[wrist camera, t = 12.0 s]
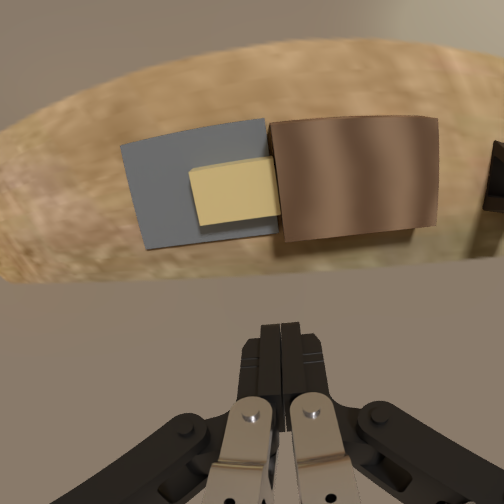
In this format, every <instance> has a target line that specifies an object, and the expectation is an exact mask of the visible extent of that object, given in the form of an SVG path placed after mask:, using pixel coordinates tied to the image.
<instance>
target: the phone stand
mask: <svg viewBox="0 0 504 504" xmlns="http://www.w3.org/2000/svg"><path fill="white" fill-rule="evenodd" d="M489 174H490V176H489V178H488V184H487V189H486V194H485V199H484V204H483V210H485V211H493V212H499V213H504V143H502V142H499V141H496V140H495V141H494V143H493V151H492V159H491V166H490V172H489Z"/></svg>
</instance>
